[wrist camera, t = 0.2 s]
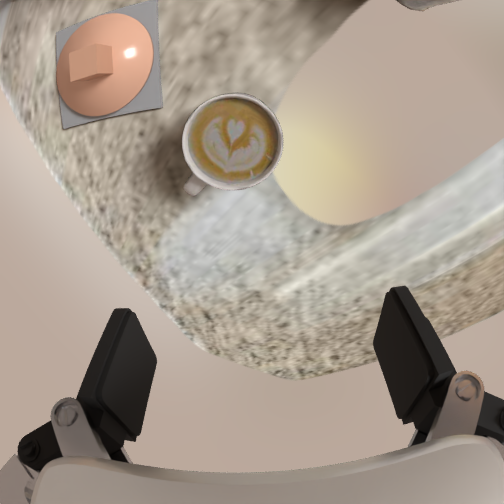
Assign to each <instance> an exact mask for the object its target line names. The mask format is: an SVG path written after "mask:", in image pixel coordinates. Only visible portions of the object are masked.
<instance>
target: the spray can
mask: <svg viewBox="0 0 504 504" xmlns="http://www.w3.org/2000/svg"><path fill="white" fill-rule="evenodd" d="M397 1H398V2H399V3H400V4H402V5H403V6H405V7H407V8H409V9H412V10H418V11H425V10H426V9H428V8H430V7H434V6H437V5H442V4H447V3H451V2H454V1H459V0H397Z"/></svg>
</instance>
